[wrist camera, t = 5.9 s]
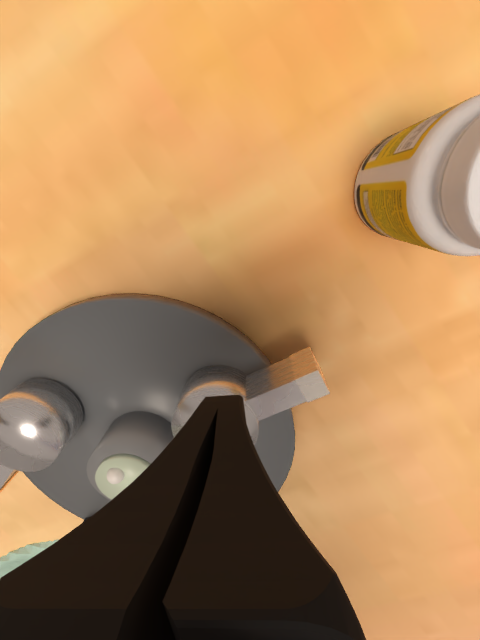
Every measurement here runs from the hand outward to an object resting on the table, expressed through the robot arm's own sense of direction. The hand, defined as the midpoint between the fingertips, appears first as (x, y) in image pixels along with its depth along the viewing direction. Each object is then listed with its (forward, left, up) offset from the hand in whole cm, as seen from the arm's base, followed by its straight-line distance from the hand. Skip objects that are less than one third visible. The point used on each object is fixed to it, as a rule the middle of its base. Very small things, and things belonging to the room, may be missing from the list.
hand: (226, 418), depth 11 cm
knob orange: (-5, +14, -7) cm, 16 cm away
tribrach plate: (-7, +7, -8) cm, 13 cm away
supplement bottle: (+7, -9, -8) cm, 14 cm away
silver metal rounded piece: (-3, 0, -7) cm, 7 cm away
